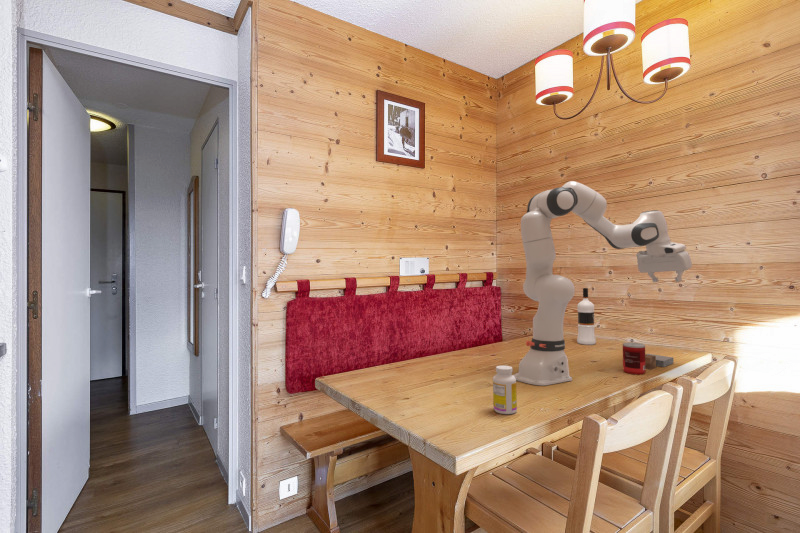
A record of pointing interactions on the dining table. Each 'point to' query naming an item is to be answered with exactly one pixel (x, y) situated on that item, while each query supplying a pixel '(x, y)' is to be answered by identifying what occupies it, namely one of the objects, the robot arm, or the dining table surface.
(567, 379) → the robot arm
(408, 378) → the dining table surface
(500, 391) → the supplement bottle
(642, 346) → the canned food
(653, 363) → the walnut block
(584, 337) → the vodka
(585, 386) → the dining table surface
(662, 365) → the slate tile
